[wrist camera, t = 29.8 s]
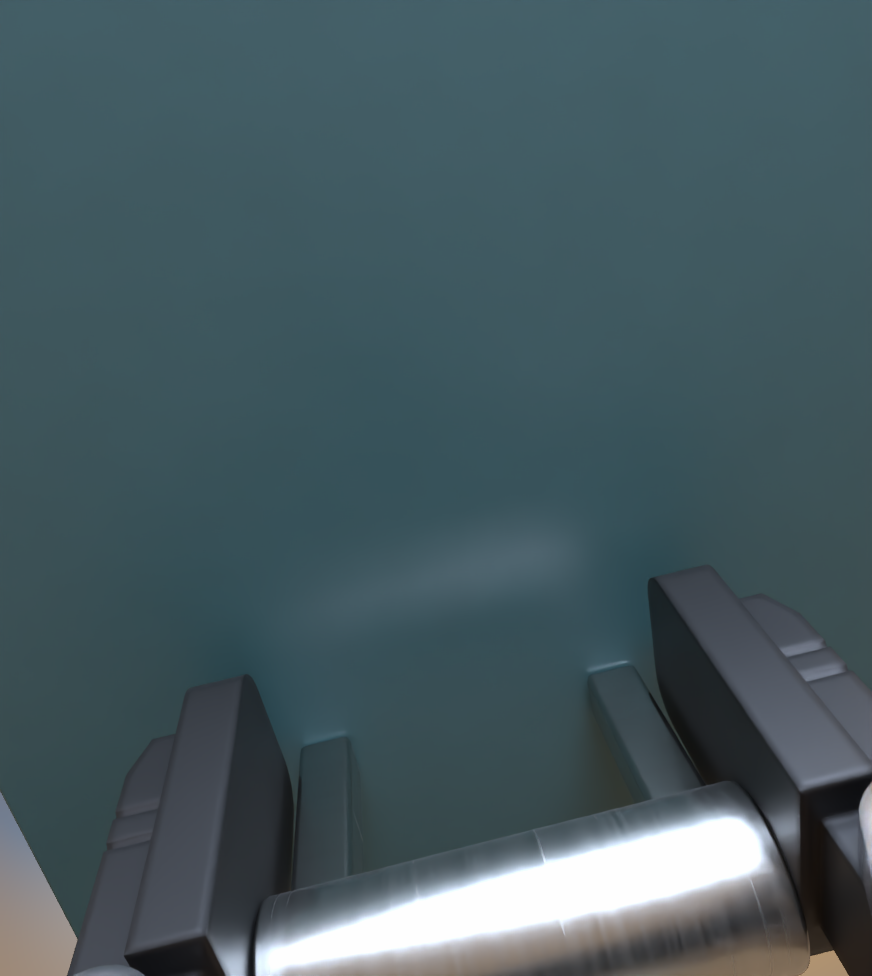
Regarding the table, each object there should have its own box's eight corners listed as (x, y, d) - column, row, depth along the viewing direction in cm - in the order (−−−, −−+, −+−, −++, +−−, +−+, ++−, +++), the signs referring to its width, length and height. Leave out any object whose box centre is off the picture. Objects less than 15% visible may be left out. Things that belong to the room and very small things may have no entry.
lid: (878, 711, 13) (1182, 1014, 8) (98, 909, 13) (-44, 1341, 8) (857, -391, 8) (1571, -1170, 3) (-413, -113, 8) (-1553, -549, 3)
